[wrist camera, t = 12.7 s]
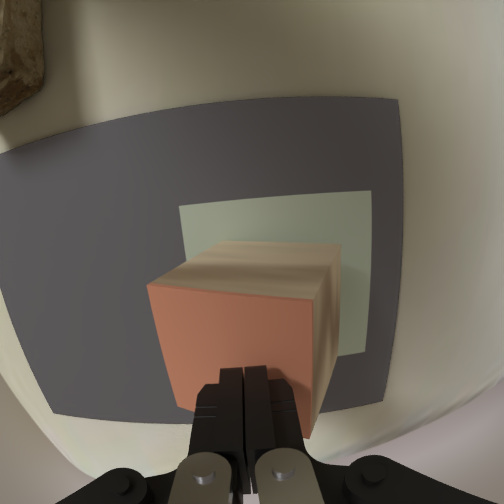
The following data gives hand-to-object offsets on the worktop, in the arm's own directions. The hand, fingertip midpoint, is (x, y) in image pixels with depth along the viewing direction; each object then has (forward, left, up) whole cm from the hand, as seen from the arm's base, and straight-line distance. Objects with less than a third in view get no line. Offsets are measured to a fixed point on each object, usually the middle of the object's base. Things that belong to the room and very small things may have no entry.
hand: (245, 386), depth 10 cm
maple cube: (0, -1, -1) cm, 1 cm away
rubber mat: (0, -4, -8) cm, 9 cm away
